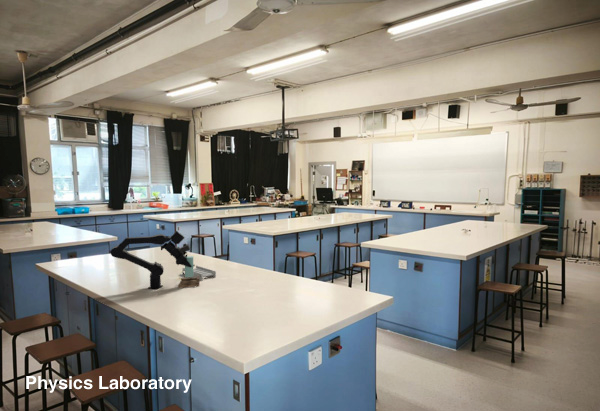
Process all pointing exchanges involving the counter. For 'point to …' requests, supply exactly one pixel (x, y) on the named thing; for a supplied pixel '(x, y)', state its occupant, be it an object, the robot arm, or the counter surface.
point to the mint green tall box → (189, 269)
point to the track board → (189, 282)
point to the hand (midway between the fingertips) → (191, 266)
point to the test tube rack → (202, 272)
